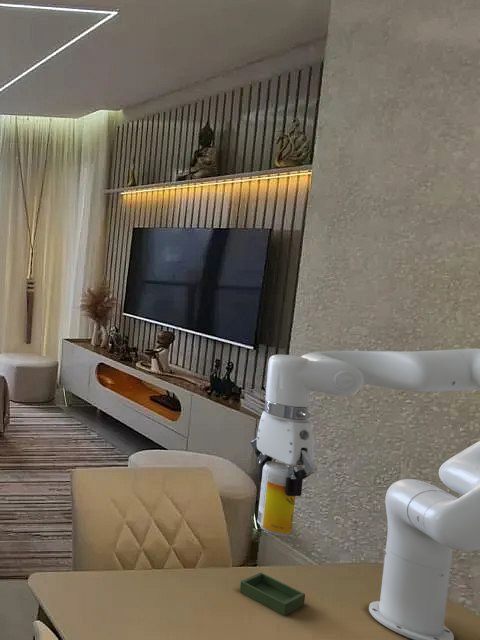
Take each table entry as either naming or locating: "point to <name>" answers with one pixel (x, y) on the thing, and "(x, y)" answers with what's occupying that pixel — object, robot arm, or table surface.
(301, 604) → the can tray
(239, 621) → the table surface
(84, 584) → the table surface
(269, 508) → the beer can
